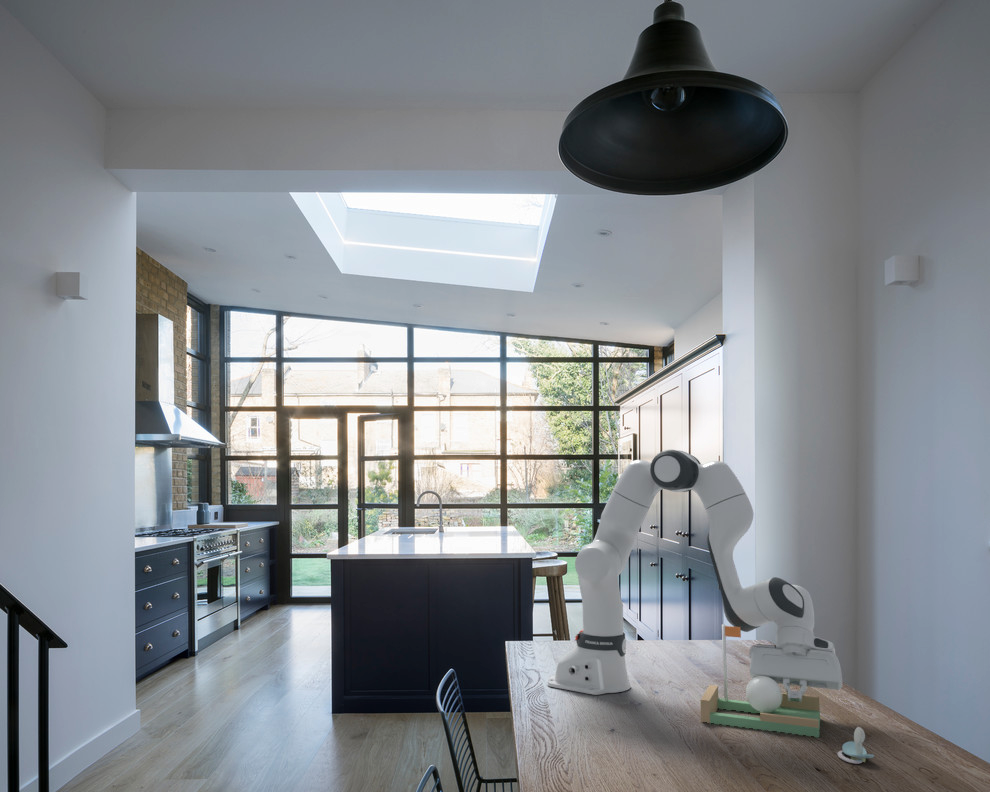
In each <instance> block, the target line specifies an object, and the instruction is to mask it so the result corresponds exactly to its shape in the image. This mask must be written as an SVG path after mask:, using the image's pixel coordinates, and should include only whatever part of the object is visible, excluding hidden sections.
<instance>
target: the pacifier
mask: <svg viewBox="0 0 990 792" xmlns="http://www.w3.org/2000/svg"><path fill="white" fill-rule="evenodd" d="M865 740H866V733H865V731H864V729H863V728H862V727H859V726H857V727H856V728H855V729H854V732H853V741H852V740H851V741H846V742H844V743H843V744H842V747H841V748H842V750H839V751H838V752H837V757H838V758H840V760H842V761H844V762H846V763H850V764H854V765H858V764H859V765H860V764H862V762H864V763H866V762H867V761H866V760H867V759H872V758H875V755H874V754H871V753H867V750H866V748H865V747H864V746H863V743H864V741H865ZM845 755H847V756H849V757H850V758H849V757H846V756H845Z"/></svg>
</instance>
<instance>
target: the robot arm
mask: <svg viewBox="0 0 990 792" xmlns="http://www.w3.org/2000/svg"><path fill="white" fill-rule="evenodd" d="M661 490H666V491H670V492H674V493H685V492H686V493H687V492H690V491H693V492H695V493H696V494H697V496H698V497H699V498H700V501H701V503H702V505H703V507H704V509H705V511H706V512H705V513H706V514H707V517H708V524H709V532H708V534H707V537H706V541H707V547H708V551H709V555H710V559H711V563H712V567H713V570H714V573H715V576H716V581H717V583H718V587H719V591H720V594H721V598H722V607H723V612H724V615H725V618H726V620H727V622H728V623H729V624H730V625H731V626H732V627H740V628H741V631H742V632H744V633H748V632H752V631H753V630H755V629H758V628H760V627H761V626H764V625H767V624H771V623H775V624H776V625H777V628H776V630H775V631H776V632H775V644H762V643H756V645H755V644H754V645H752V646H751V647H750V648H749V658H750V661H749V676H750V677H751V679H753V678H755V677H757V676H767V677H769V678H771V679H773V680H774V681H775V682H776V683H777V684H780V685H782V687H783V689H784V690H785V693H787V694H788V701H796V702H802V696H803V695H805V693H806V692H807V691H808V687H809V688H815V689H816V688H818V689H826V690H834V691H839V690H840V689H841V688H843V676H842V675H843V674H842V668H841V664H840V660H839V657H838V656H837V655H836V649H835V645H834V643H833V642H832V641H829V640H826V639H823V638H820V637H818V636H815V634H814V628H815V610H814V603H813V600H812V597H811V595H810V592H809V591H808V590H807V589H805V588H804V587H803V586H800V585H797V584H791V583H790V582H788V581H787V580H785V579H782V578H779V577H771V578H768V579H765V580H763V581H759V582H757V583H755V584H752V585H750V586H748V587H744V588H743V587H742V585H741V582H740V578H739V575H738V572H737V568H736V565H735V562H734V556H733V555H734V551H735V547H736V545H737V544H738V543H739V541H740V540H741V539H742V538H743V537H744V535H746V533H747V532H748V531H749V529H750V528H751V525H752V523H753V520H754V510H753V506H752V504H751V501H750V499H749V497H748V495H747V494H746V490H745V489H744V487H743V485H742V484H741V482H740V480H739V479H738V476H736V474H735V472H734V471H733V470H732V469H731V467H730V465H728V463H726V462H724V461H720V460H712V461H708V462H706V463H703V464H702V463H701V462H700V461H699V459H698V458H697V457H695V456H693V455H692V454H690V453H688V452H686V451H683V450H677V449H666V450H662V451H661V452H659V453H657V454H656V455H655V456H654V457H653V458H652V460H651V462H650V461H648V460H644V459H634V460H632V461H629V463H628V465H627V466H626V467H625V469H624V470H623V471H622V473H620V477H619V478H618V479H617V482H616V483H615V485H614V487H613V489H612V491H611V493H610V496H609V498H608V500H607V501H606V504H605V507H604V508H603V510H602V512H601V515H600V519H599V520H600V521H599V524H598V527H597V531H596V534H595V536H594V539H593V541H592V542H591V543H587V544H585V545H584V546H582V547H581V548H580V550H579V551H578V553H577V556H576V557H575V562H574V566H575V567H574V568H575V571H576V574H577V578H578V584H579V590H580V596H581V602H582V605H581V606H582V629H581V630H579V632H578V633H577V634H576V636H574V638H575V639H574V641H576V645H575V646H574V647H573V648H572V649H570V650H569V651H567V652H566V653H565V654H564V655H563V656H562V657H560V658H559V659H558V662H557V664H556V668H555V669H556V670H555V673H554V674H553V675H551V676H549V678H548V679H547V686H548V687H551V688H556V689H562V690H567V691H573V692H579V693H583V694H589V695H594V696H598V695H604V694H614V693H620V692H621V693H622V692H625V691H627V690H630V688H632V685H631V682H630V679H629V675H628V669H627V664H626V651H627V639H626V633H625V632H624V603H623V600H622V597H621V591H620V590H621V589H620V584H619V576H620V575H621V574H622V572H624V570H625V568H626V566H627V563H628V561H629V559H630V555H631V553H632V550H633V548H634V545H635V542H636V539H637V536H638V533H639V531H640V529H641V527H642V524H643V522H644V521H645V519H646V517H647V514H648V512H649V510H650V508H651V505H652V504H653V501H654V499H655V498H656V496H657V494H658V493H659V492H660V491H661ZM791 685H792V686H798V687H799V690H791Z"/></svg>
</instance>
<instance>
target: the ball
mask: <svg viewBox="0 0 990 792" xmlns="http://www.w3.org/2000/svg"><path fill="white" fill-rule="evenodd" d="M782 693H783V691H782V689H781V687H780V685H779V683H776V682H775V681H774V680H773V679H771V678H769V677H767V676H757V677H755V678H753V679H752V678H751V679H750V680H749V682H747V685H746V689H745V696H746V699H747V700H746V701H747V702H749V703H750V705H751V706H752V707H753V708H754V709H756V710H757V711H760V712H763V713H770V712H773V711H775V710H776V709H778V708H779V706H780V705H781V702H782Z"/></svg>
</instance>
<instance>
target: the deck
mask: <svg viewBox="0 0 990 792" xmlns="http://www.w3.org/2000/svg"><path fill="white" fill-rule="evenodd" d="M721 637H722V638H721V641H722V662H723V663H722V664H723V665H722V666H723V667H722V668H723V689H724V690H723V691H724V692H723V693H724V698H721V697H720V698H719V685H716V684H714V685H713V684H709V685H708V687H707V688H706V690H705V691H704V693H703V695H702V696H701V699H700V720H701V721H700V723H703V722H707V723H706V724H711V723H714V724H713V725H719V724H722V725H721V726H726V725H730V726H729V727H734V726H738V727H737V728H742V727H745V728H744V729H749V728H753V729H752V730H757V729H762V730H761V731H765V730H770V731H769V732H772V731H777V732H776V733H780V732H785V733H784V734H788V733H792V734H791V735H795V734H798V736H803V735H806V736H805V737H811V736H814V737H813V738H820V731H819V730H821V729H820V727H821V726H820V725H821V710H820V709H821V708H820V696H816V695H807V694H804V695H803V696H802V702H796V701H788V694H787V692H782V702H781V705H780V706H779V708H778V709H776V710H775V711H773V712H770V713H763V712H760V711H757V710H756V709H754V708H753V707H752V706H751V705H750V703H749V702H748V700H738V699H729V689H728V687H729V686H728V665H727V637H729V638H730V637H731V638H739V639H740V638H741V637H742V633H741V628H740V627H734V626H733V625H731V626H729V625H725V624H721ZM718 708H719V709H718ZM723 709H726V710H725V711H731V710H736V711H735V712H740V711H744V712H743V713H748V712H751V713H750V714H756V713H760V714H759V717H757V716H756V717H755V716H746V715H739V714H733V713H723V712H717V711H718V710H723Z"/></svg>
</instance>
